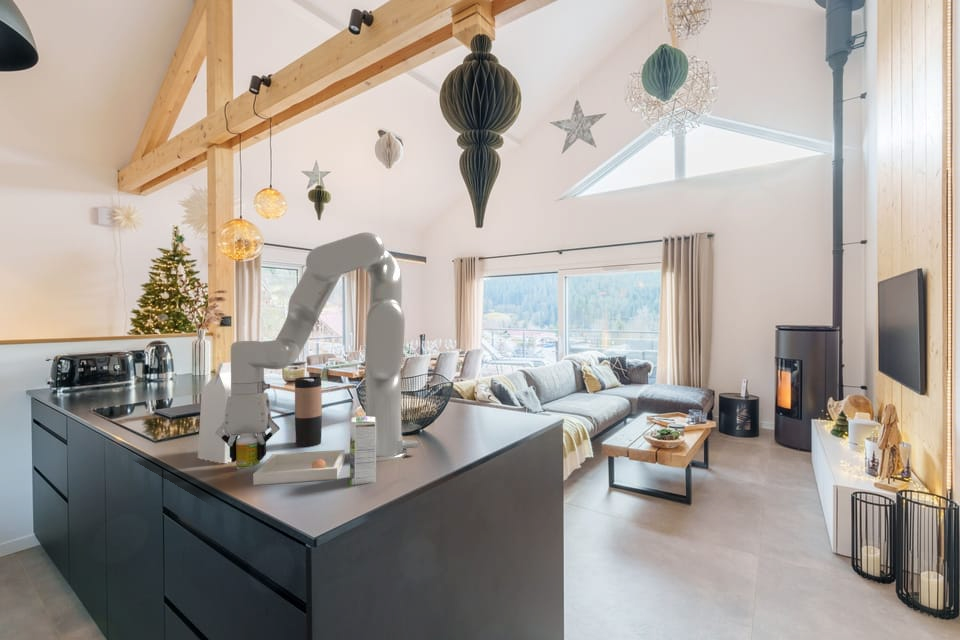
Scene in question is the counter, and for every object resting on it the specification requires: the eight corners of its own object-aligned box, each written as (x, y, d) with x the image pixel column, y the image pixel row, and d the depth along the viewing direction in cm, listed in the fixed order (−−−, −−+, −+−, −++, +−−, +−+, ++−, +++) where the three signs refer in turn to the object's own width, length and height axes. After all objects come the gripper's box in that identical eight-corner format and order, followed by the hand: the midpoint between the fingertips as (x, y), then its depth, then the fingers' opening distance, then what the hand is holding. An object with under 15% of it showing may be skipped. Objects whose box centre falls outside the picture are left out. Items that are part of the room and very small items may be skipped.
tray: (345, 461, 115) (345, 449, 115) (337, 481, 100) (337, 468, 100) (272, 465, 112) (272, 454, 112) (253, 487, 97) (253, 474, 97)
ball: (326, 469, 107) (326, 456, 107) (324, 474, 104) (324, 460, 104) (313, 470, 106) (313, 457, 106) (310, 475, 103) (310, 461, 103)
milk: (238, 447, 130) (238, 359, 130) (265, 451, 125) (264, 361, 125) (197, 458, 119) (197, 363, 119) (224, 464, 114) (223, 365, 114)
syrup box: (350, 478, 102) (349, 417, 102) (376, 476, 104) (375, 415, 104) (349, 487, 96) (349, 422, 97) (377, 484, 98) (376, 420, 98)
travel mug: (303, 440, 136) (303, 376, 136) (326, 440, 135) (326, 376, 135) (289, 447, 129) (289, 379, 129) (314, 447, 128) (313, 380, 128)
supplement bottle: (249, 471, 108) (249, 432, 108) (231, 469, 109) (230, 431, 109) (264, 464, 113) (264, 426, 113) (246, 462, 114) (246, 426, 115)
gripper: (286, 385, 117) (287, 453, 117) (217, 388, 114) (217, 457, 113) (279, 389, 109) (279, 462, 109) (204, 392, 106) (205, 466, 106)
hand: (248, 458), depth 111 cm, fingers closed on supplement bottle, 5 cm apart
